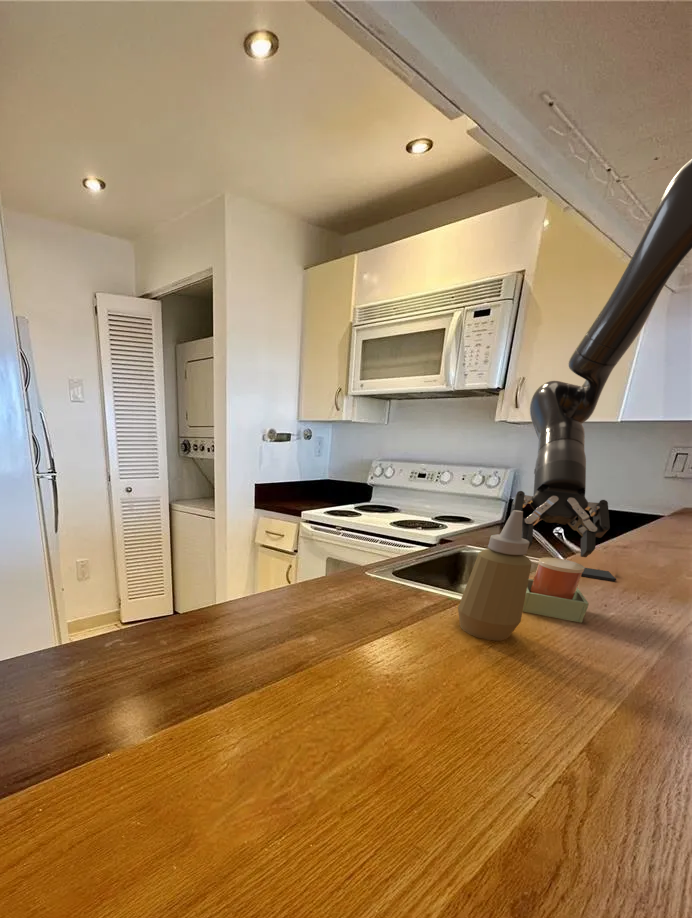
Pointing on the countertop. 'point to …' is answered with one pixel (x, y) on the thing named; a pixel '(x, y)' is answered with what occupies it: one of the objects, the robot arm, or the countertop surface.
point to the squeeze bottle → (497, 584)
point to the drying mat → (598, 574)
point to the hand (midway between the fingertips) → (556, 550)
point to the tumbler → (557, 577)
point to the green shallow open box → (556, 605)
